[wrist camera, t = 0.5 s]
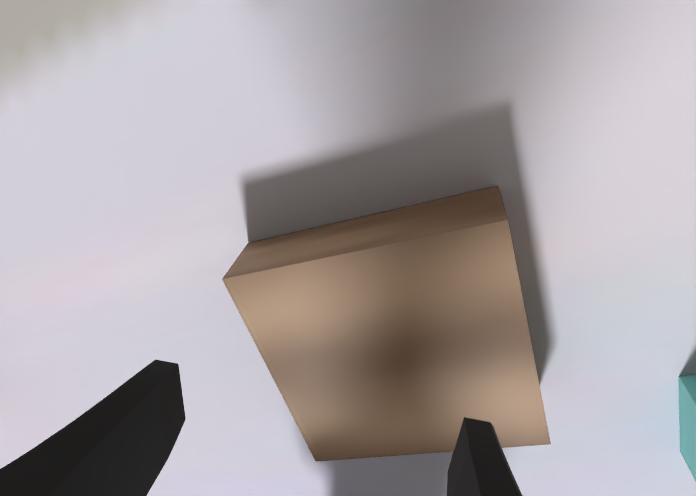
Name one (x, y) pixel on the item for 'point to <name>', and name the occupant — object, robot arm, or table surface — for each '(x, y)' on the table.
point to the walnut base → (395, 328)
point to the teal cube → (688, 420)
